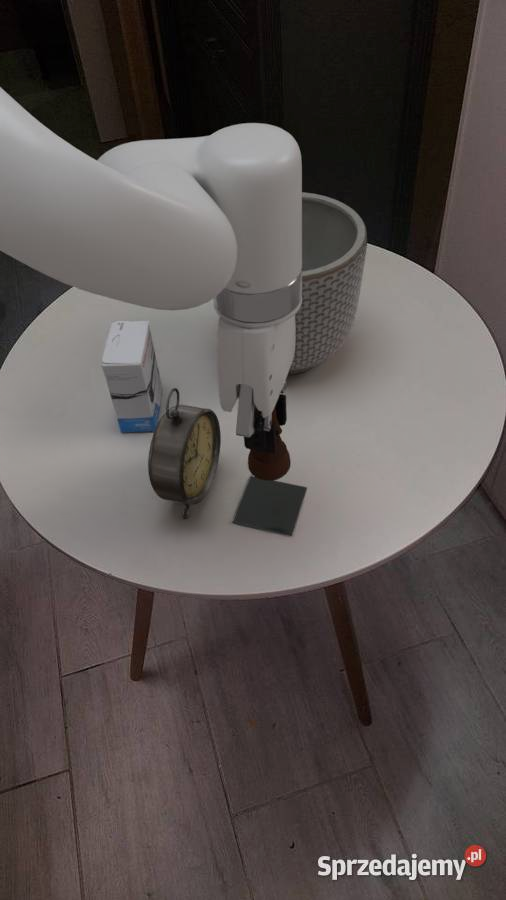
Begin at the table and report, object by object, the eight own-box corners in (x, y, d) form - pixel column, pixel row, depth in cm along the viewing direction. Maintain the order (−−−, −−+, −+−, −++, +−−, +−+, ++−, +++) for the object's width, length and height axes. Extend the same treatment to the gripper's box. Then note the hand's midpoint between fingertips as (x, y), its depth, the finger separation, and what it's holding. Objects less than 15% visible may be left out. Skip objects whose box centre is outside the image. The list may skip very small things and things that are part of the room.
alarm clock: (194, 530, 78) (173, 434, 66) (151, 519, 79) (123, 423, 67) (227, 460, 85) (214, 361, 72) (187, 451, 86) (167, 352, 74)
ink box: (157, 432, 88) (141, 364, 80) (119, 433, 89) (99, 365, 80) (163, 387, 94) (149, 318, 85) (128, 388, 94) (110, 319, 85)
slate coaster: (232, 523, 78) (232, 521, 78) (250, 477, 83) (250, 475, 82) (291, 536, 77) (291, 534, 77) (307, 488, 81) (307, 487, 81)
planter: (382, 375, 93) (397, 253, 79) (247, 416, 90) (236, 296, 75) (324, 295, 106) (327, 177, 91) (202, 328, 102) (186, 211, 88)
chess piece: (265, 488, 72) (261, 423, 64) (237, 460, 74) (229, 394, 67) (299, 466, 73) (298, 400, 66) (269, 440, 76) (266, 373, 69)
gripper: (243, 228, 63) (254, 376, 76) (179, 342, 53) (205, 489, 66) (323, 238, 61) (319, 387, 75) (273, 357, 51) (279, 504, 65)
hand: (266, 434), depth 70 cm, fingers closed on chess piece, 3 cm apart
